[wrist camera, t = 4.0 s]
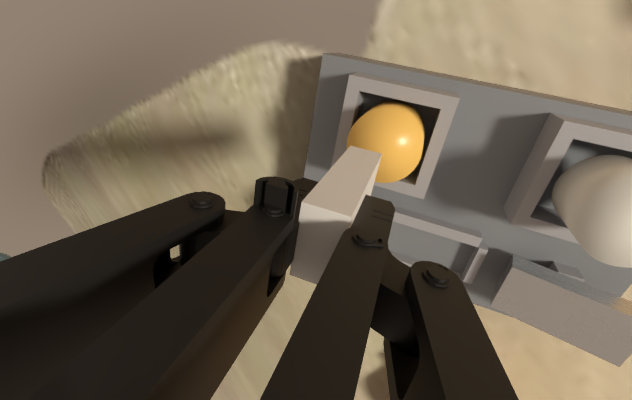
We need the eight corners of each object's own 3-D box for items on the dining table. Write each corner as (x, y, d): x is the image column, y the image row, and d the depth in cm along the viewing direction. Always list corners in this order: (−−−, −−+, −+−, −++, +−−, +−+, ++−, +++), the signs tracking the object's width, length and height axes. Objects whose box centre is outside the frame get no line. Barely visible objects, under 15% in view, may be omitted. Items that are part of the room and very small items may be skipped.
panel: (308, 221, 33) (281, 256, 28) (338, 52, 26) (310, 54, 20) (566, 305, 28) (598, 370, 22) (697, 124, 21) (795, 153, 15)
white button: (537, 214, 20) (558, 249, 16) (576, 145, 18) (609, 168, 14) (620, 237, 19) (661, 280, 15) (672, 167, 17) (732, 198, 13)
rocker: (492, 292, 24) (489, 306, 23) (513, 254, 23) (512, 267, 21) (612, 346, 22) (619, 366, 20) (647, 308, 20) (657, 327, 18)
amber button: (354, 154, 24) (340, 171, 20) (368, 93, 22) (355, 101, 18) (413, 170, 23) (409, 191, 20) (434, 107, 21) (433, 119, 17)
